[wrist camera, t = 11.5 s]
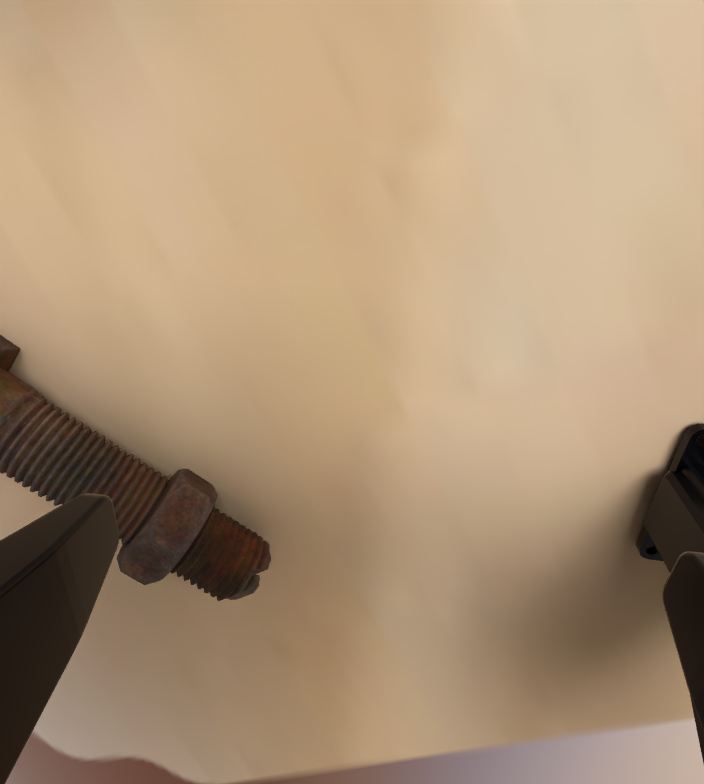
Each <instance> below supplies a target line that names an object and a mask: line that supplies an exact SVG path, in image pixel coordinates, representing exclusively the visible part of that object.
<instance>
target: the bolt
mask: <svg viewBox="0 0 704 784" xmlns="http://www.w3.org/2000/svg"><path fill="white" fill-rule="evenodd" d="M19 351H20V348H19V347H17V346H16V345H14V344H13V343H11V342H10V341H8V340H7V339H5V338H4V337H2V336H1V335H0V473H5V472H6V473H7V477H9V478H12V477H15V482H17V483H19V482H21V481H23V483H22V486H23V487H28V486H31V488H30V491H31V492H35V491H38V490H39V492H38V496H40V497H42V496H45V495H47V497H46V501H51V500H53V499H55V501H54V505H55V506H56V505H59V504H62V505H63V504H65V503H67V502H68V501H70V500H72V499H74V498H75V497H77V496H79V495H81V494H86V493H89V494H100V495H106V496H109V497H110V498H111V500H112V502H113V507H114V511H115V516H116V521H117V526H118V530H119V539H121V538H122V545H123V546H122V548H121V550H120V552H119V554H118V556H117V560H118V564H119V567H120V571H121V572H122V573H124V574H126V575H128V576H129V577H131V578H133V579H135V580H136V581H138V582H140V583H142V584H143V585H146V584H150V583H153V582H157V581H159V580H161V579H163V578H164V577H165V576H166V575H167V574H168V573H169V572H170V571H171V573H174V572H176V571H177V576H178V577H180V576H182V575H183V576H184V581H186V580H188V579H190V581H191V585H194V584H196V583H197V587H198V589H201V588H204V593H208V592H210V595H211V596H212V597H215V596H217V600H218V601H220V600H223V599H227V598H228V599H230V600H235V599H239V598H241V597H244V596H247V595H249V594H252V593H254V591H255V590H256V589H257V587H258V586H259V580H260V578H259V575H255V574H257V573H260V572H262V571H264V570H266V569H268V567H269V564H270V561H271V556H270V552H269V544H268V542H266V541H263V539H262V537H260V536H257V534H256V533H255V532H254V533H251V531H250V529H245V526H243V525H239V523H238V522H237V521H233V520H232V518H231V517H229V518H226V514H224V513H222V514H220V512H219V509H217V510H213V506H214V503H215V501H216V495H217V494H216V491H215V489H214V487H213V486H212V484H210V483H209V482H207V481H206V480H204V479H202V478H201V477H199V476H198V475H196V474H195V473H193V472H192V471H190V470H189V469H183V470H179V471H177V472H176V473H175V474H174V475H173V476H172V477H171V479H170V480H169V481H168V482H167V476H165V477H160V472H157V473H154V469H153V468H149V469H147V464H146V463H144V464H141V465H140V459H136V460H133V454H131V455H129V456H126V450H124V451H122V452H119V446H115V447H112V441H109V442H107V443H105V436H102V437H100V438H97V437H98V433H97V431H96V432H93V433H91V428H90V427H87V428H85V429H83V422H81V423H78V424H76V418H75V417H74V418H71V419H69V413H64V414H62V415H61V409H60V408H57V409H55V410H54V404H53V403H49V404H47V401H46V399H45V398H43V397H41V396H40V395H39V393H38V391H36V390H35V389H33V388H32V387H30V386H29V385H27V384H26V383H24V382H23V381H21V380H20V379H18V378H17V377H15V376H14V375H12V374H10V373H9V372H8V371H9V369H10V368H11V366H12V364H13V362H14V360H15V358H16V357H17V355H18V353H19Z"/></svg>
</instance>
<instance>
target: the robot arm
mask: <svg viewBox="0 0 704 784" xmlns="http://www.w3.org/2000/svg"><path fill="white" fill-rule="evenodd" d="M702 435H704V424H696V425H693V426H691V427H690V428H689V429H688V430H687V431H686V432H685V434H684V436H683V439H682V441H681V443H680V445H679V448H678V450H677V452H676V454H675V457H674V459H673V461H672V463H671V466H670V468H669V470H668V472H667V473H666V474H665V475H664V476H663V478H662V480H661V482H660V484H659V487H658V489H657V491H656V493H655V496H654V498H653V500H652V502H651V505H650V507H649V509H648V511H647V514H646V516H645V518H644V521H643V524H644V526H643V529H642V531H641V533H640V535H639V538H638V540H637V542H636V546H637V549H638V551H639V553H640V555H641V556H642V557H644V558H647V559H653V560H660V561H664V562H665V564H666V566H667V568H668V570H669V572H670V575H669V577H668V579H667V581H666V583H665V585H664V589H663V602H664V606H665V610H666V613H667V617H668V620H669V624H670V627H671V631H672V634H673V638H674V641H675V644H676V648H677V651H678V655H679V658H680V662H681V665H682V669H683V672H684V676H685V679H686V682H687V686H688V689H689V692H690V697H691V702H692V707H693V712H694V717H695V722H696V727H697V732H698V737H699V742H700V747H701V752H702V758H703V762H704V438H703V439H701V440H697V439H698V437H700V436H702ZM696 440H697V441H696ZM118 542H119V530H118V526H117V521H116V516H115V511H114V507H113V502H112V500H111V498H110V497H109V496H106V495H100V494H89V493H86V494H81V495H79V496H77V497H75V498H74V499H72V500H70V501H68V502H67V503H65V504H63V505H61V506H60V507H58V508H56V509H54V510H53V511H51V512H49V513H47V514H46V515H44V516H42V517H41V518H39V519H37V520H35V521H34V522H32V523H30V524H28V525H27V526H25V527H23V528H21V529H20V530H18V531H16V532H14V533H13V534H11V535H9V536H8V537H6V538H4V539H2V540H1V541H0V784H5V782H6V781H7V779H8V777H9V775H10V773H11V771H12V769H13V767H14V765H15V763H16V761H17V759H18V758H19V756H20V754H21V752H22V750H23V748H24V746H25V744H26V742H27V740H28V739H29V737H30V735H31V733H32V731H33V729H34V727H35V725H36V723H37V721H38V719H39V717H40V716H41V714H42V712H43V710H44V708H45V706H46V704H47V702H48V700H49V698H50V696H51V695H52V693H53V691H54V689H55V687H56V685H57V683H58V681H59V679H60V677H61V675H62V674H63V672H64V670H65V668H66V666H67V664H68V662H69V660H70V658H71V656H72V654H73V653H74V650H75V648H76V646H77V644H78V642H79V640H80V638H81V636H82V634H83V632H84V629H85V627H86V625H87V622H88V620H89V617H90V615H91V612H92V610H93V607H94V605H95V602H96V600H97V597H98V595H99V592H100V589H101V587H102V584H103V582H104V579H105V577H106V574H107V572H108V569H109V567H110V564H111V562H112V559H113V557H114V554H115V552H116V549H117V546H118ZM649 546H653V547H650V548H648V547H649Z"/></svg>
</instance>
